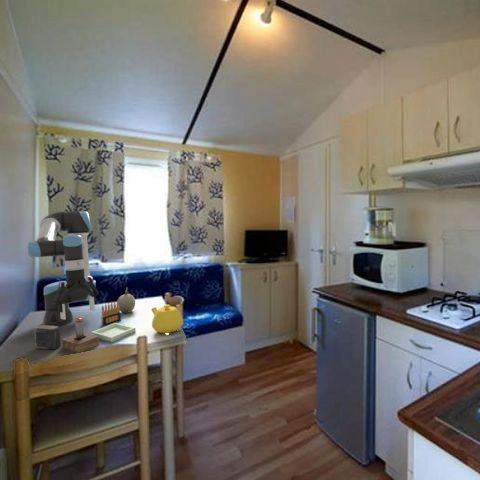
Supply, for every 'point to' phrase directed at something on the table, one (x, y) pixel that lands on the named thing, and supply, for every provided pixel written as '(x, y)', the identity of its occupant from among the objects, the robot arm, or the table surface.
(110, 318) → the ammunition clip
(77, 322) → the pin
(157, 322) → the teapot
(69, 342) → the slotted wooden block
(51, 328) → the camera
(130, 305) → the fruit
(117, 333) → the tray
